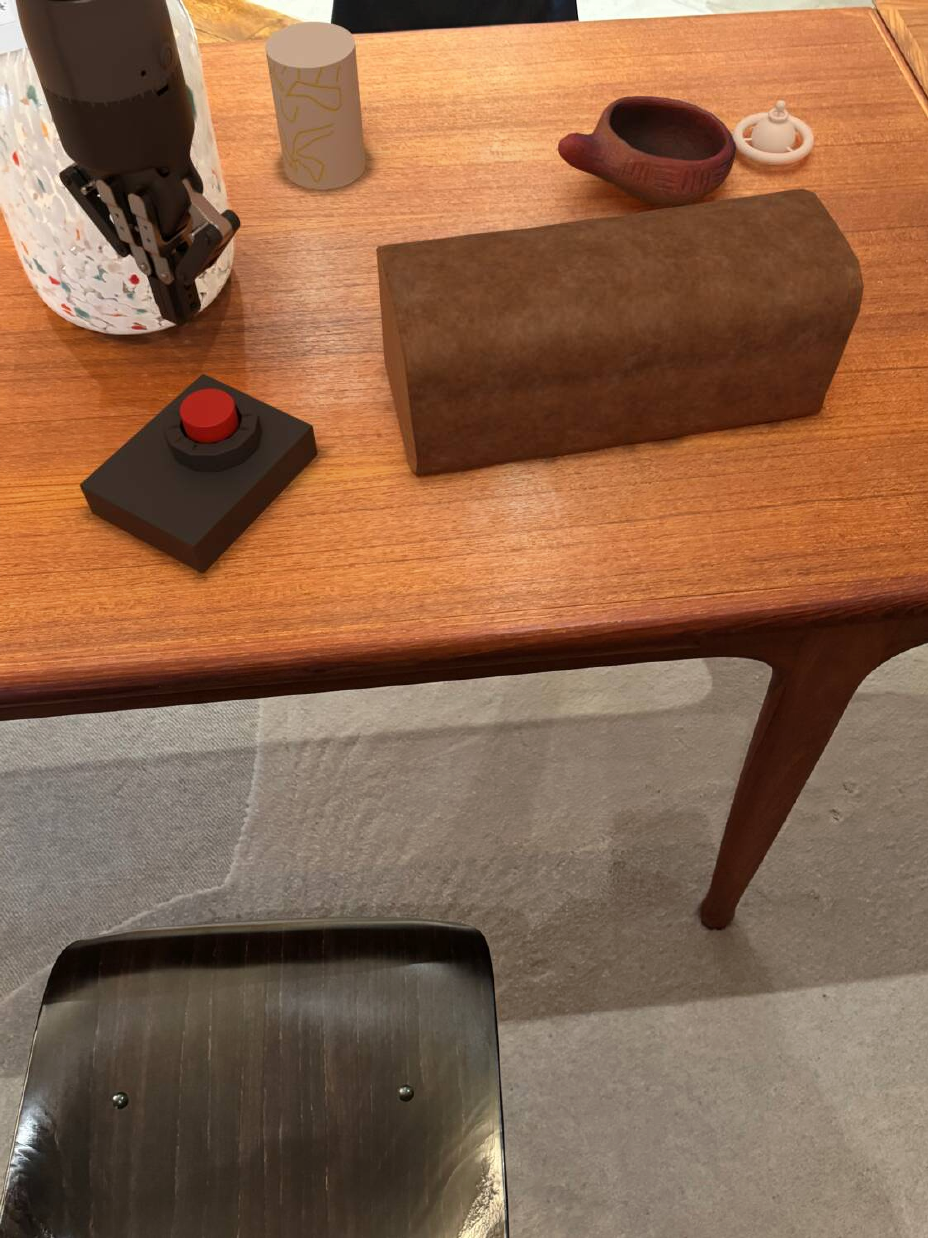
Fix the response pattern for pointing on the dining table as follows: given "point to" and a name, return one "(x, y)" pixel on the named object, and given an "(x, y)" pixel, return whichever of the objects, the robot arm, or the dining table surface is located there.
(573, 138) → the bowl
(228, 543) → the red push button box
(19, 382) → the dining table surface
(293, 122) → the cup
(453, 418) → the bread
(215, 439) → the power button
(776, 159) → the ring around a ball
